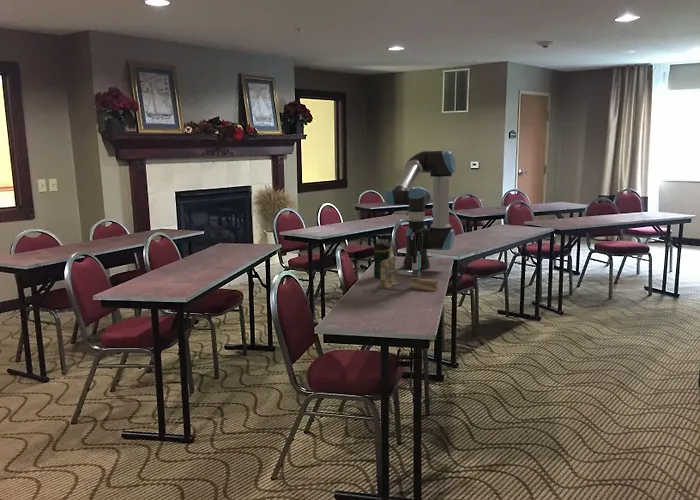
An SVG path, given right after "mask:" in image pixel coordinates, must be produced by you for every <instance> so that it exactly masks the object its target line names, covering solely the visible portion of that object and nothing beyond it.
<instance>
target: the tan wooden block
mask: <svg viewBox="0 0 700 500" xmlns="http://www.w3.org/2000/svg"><path fill="white" fill-rule="evenodd" d="M388 269H393V270H396V257H395V256H390V258H388V259H386V260H384V261H381V278H380V284H379V285H376V288H377V289H384V288H386V290H390V288H392V287H394V286H396V285H398V284H399V283H400V281H398V280H396V274H388Z"/></svg>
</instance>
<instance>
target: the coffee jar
mask: <svg viewBox="0 0 700 500" xmlns="http://www.w3.org/2000/svg"><path fill="white" fill-rule="evenodd" d="M373 251H374V252H373V253H374V256H373V257H374V265H373V267H374V268H373V277H374V278H376V279H381V261H384V260H386V259H388V258H390V257H391V243H390V242H389V241H380V242H378V243H375V244H374V246H373Z"/></svg>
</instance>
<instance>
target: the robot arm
mask: <svg viewBox="0 0 700 500" xmlns="http://www.w3.org/2000/svg"><path fill="white" fill-rule="evenodd" d="M455 171H456V159H455V156H454V153H453V152H452V151H450V150H428V151H427V150H423V151H420V152H418V153H416V154H414V155H413V156H411V157H410V158H409V159H408V160H407V161H406V164H405V166H404V170H403V172H402V174H401V176H400V177H399V179H398V181H397V182H396V185H395V186H394V188H393V189H387V190H386V192H385V196H384V199H385V203H386V204H387V205H391V206H408V213H407V215H408V228H406V231H405V233H406V234H405V237H406V239H405V243H406V244H405V245H406V246H405V251H406V253H405V256H404V260H403V262H402V267H403V268H404V269H408V270H412V271H413V270H418V256H417V251H420V270H427V269H430V268H431V262H430V259H429V256H428V250H433V251H450V250H451V249H452V248H453V245H454V241H455V236H456V235H455V234H456V232H455V231H456V230H454V229H452V225H451V224H450V222H449V221H450V217H449V216H450V211H449V210H450V179H451V178H452V177H453V174H454V173H455ZM422 173H423V174H425V173H429V176H430V179H432V193H431V192H430V191H429V190H428V189H425V188H424V187H418V186H417V187H415V186H414V183H415V182H416V180H417V178H418V176H420V175H421V174H422ZM413 186H414V187H413ZM431 201H432V223H431V225H430V226H429V228H428V226H427V225H425V220H426V219H425V218H426V214H425V213H426V209H425V206H427V205H429V203H430V204H431Z"/></svg>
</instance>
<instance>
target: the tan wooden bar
mask: <svg viewBox="0 0 700 500" xmlns="http://www.w3.org/2000/svg"><path fill="white" fill-rule="evenodd" d="M409 289H416V290H425V291H434V292H435V291H437V290H439V279H427V278H426V279H425V278H415V277H411V278H409Z"/></svg>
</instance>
